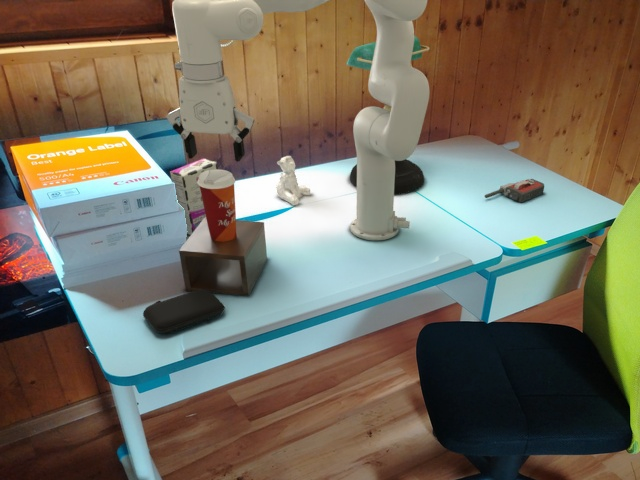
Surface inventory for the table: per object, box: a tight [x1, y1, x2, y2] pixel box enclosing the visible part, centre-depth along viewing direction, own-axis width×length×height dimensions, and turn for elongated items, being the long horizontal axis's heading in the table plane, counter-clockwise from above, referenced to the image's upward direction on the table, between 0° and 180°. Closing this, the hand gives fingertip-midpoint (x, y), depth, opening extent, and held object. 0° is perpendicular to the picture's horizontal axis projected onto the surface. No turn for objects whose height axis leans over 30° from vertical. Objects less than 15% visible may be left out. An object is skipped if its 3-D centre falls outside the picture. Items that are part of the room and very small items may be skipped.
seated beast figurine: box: [275, 155, 311, 206], centre depth 175 cm, size 10×9×12 cm
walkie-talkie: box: [484, 178, 545, 203], centre depth 186 cm, size 9×4×20 cm
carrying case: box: [142, 289, 226, 336], centre depth 129 cm, size 11×3×15 cm
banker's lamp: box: [346, 35, 430, 196], centre depth 181 cm, size 26×23×40 cm
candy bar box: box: [169, 157, 218, 236], centre depth 157 cm, size 11×5×16 cm, turn 148°
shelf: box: [178, 218, 268, 297], centre depth 140 cm, size 14×16×10 cm
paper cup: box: [197, 168, 237, 242], centre depth 134 cm, size 8×8×14 cm
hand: (216, 157), depth 128 cm, fingers open, 9 cm apart
